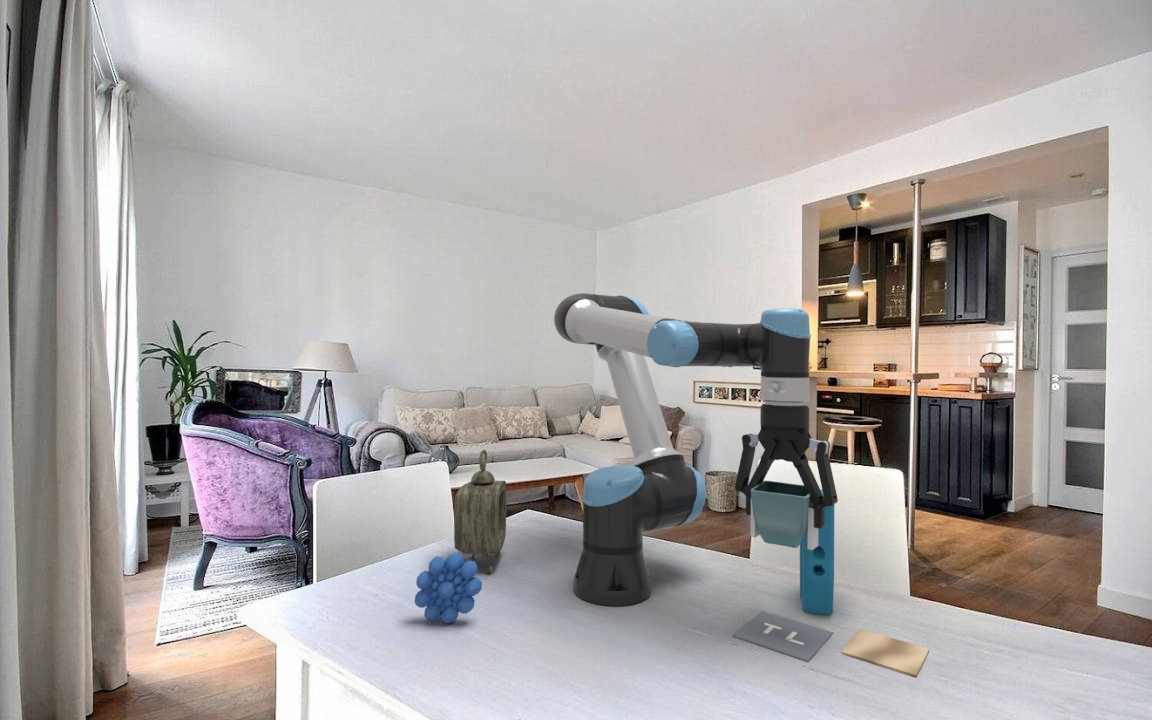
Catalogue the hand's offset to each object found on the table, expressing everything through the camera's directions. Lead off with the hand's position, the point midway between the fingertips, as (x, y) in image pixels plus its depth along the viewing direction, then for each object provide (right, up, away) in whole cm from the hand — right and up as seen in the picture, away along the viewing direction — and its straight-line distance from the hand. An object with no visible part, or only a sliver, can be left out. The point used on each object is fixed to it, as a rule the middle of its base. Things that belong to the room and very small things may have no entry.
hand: (783, 541), depth 93 cm
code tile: (0, -15, 0) cm, 15 cm away
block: (+10, -16, +12) cm, 22 cm away
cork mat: (+14, -15, -5) cm, 21 cm away
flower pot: (0, 0, 0) cm, 0 cm away
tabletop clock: (-55, -15, +31) cm, 65 cm away
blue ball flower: (-56, -15, +4) cm, 58 cm away
